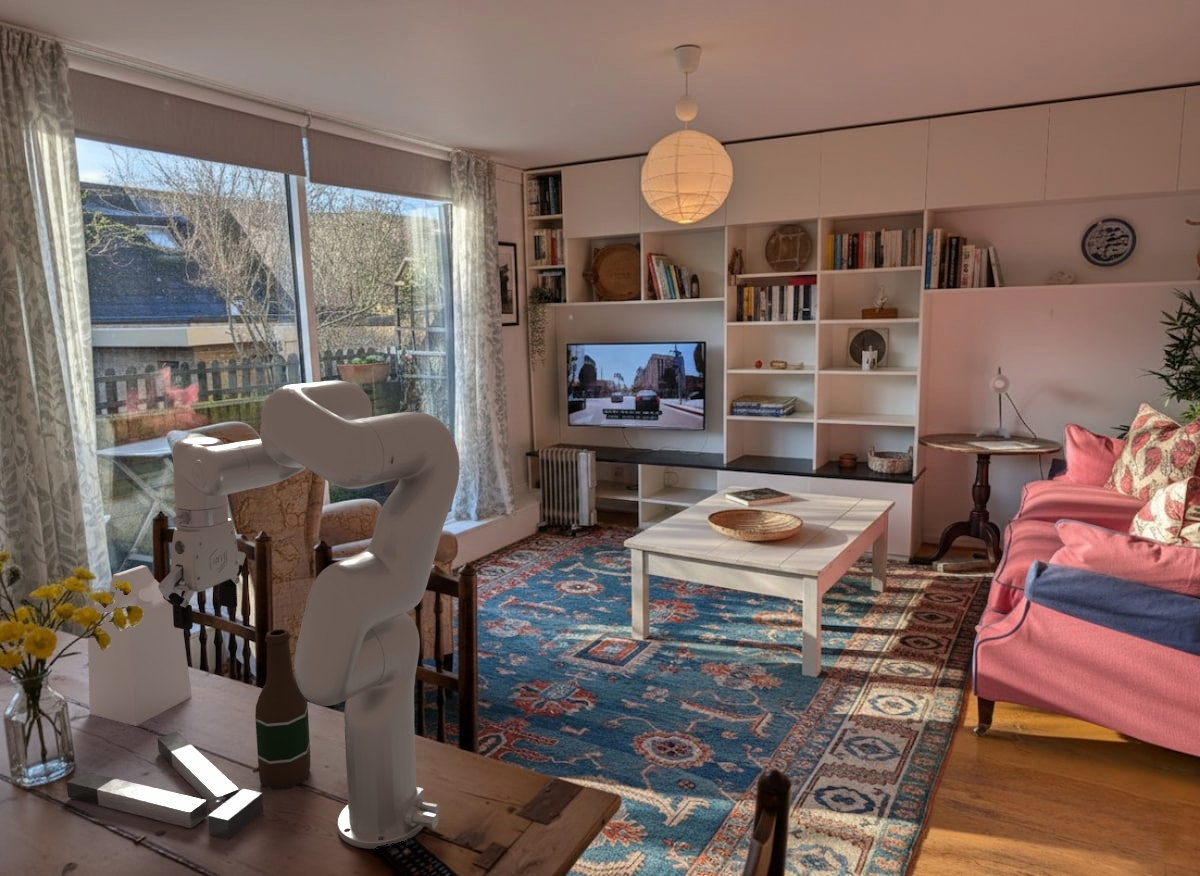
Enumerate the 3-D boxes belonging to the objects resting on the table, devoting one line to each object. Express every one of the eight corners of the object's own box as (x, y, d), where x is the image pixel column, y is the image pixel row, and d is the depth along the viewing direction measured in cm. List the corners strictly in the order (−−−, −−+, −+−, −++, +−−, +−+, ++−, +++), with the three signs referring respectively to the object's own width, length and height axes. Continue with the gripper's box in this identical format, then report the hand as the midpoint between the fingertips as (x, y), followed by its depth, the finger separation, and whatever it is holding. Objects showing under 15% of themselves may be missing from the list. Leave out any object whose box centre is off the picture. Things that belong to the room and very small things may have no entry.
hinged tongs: (263, 811, 120) (262, 793, 120) (229, 839, 114) (227, 820, 113) (107, 774, 129) (106, 757, 129) (68, 799, 123) (66, 780, 123)
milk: (147, 686, 160) (136, 557, 156) (191, 696, 156) (181, 564, 152) (89, 714, 149) (76, 576, 145) (135, 726, 145) (123, 584, 141)
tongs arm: (245, 809, 120) (244, 794, 120) (213, 824, 117) (212, 807, 116) (177, 745, 138) (176, 731, 137) (148, 755, 134) (147, 741, 134)
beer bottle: (294, 794, 125) (285, 644, 121) (248, 787, 126) (238, 639, 122) (321, 766, 132) (314, 624, 128) (277, 760, 134) (269, 620, 130)
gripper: (178, 532, 121) (183, 641, 124) (259, 505, 137) (262, 602, 140) (138, 526, 123) (144, 633, 126) (222, 500, 139) (226, 595, 143)
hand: (206, 616), depth 133 cm, fingers open, 9 cm apart
